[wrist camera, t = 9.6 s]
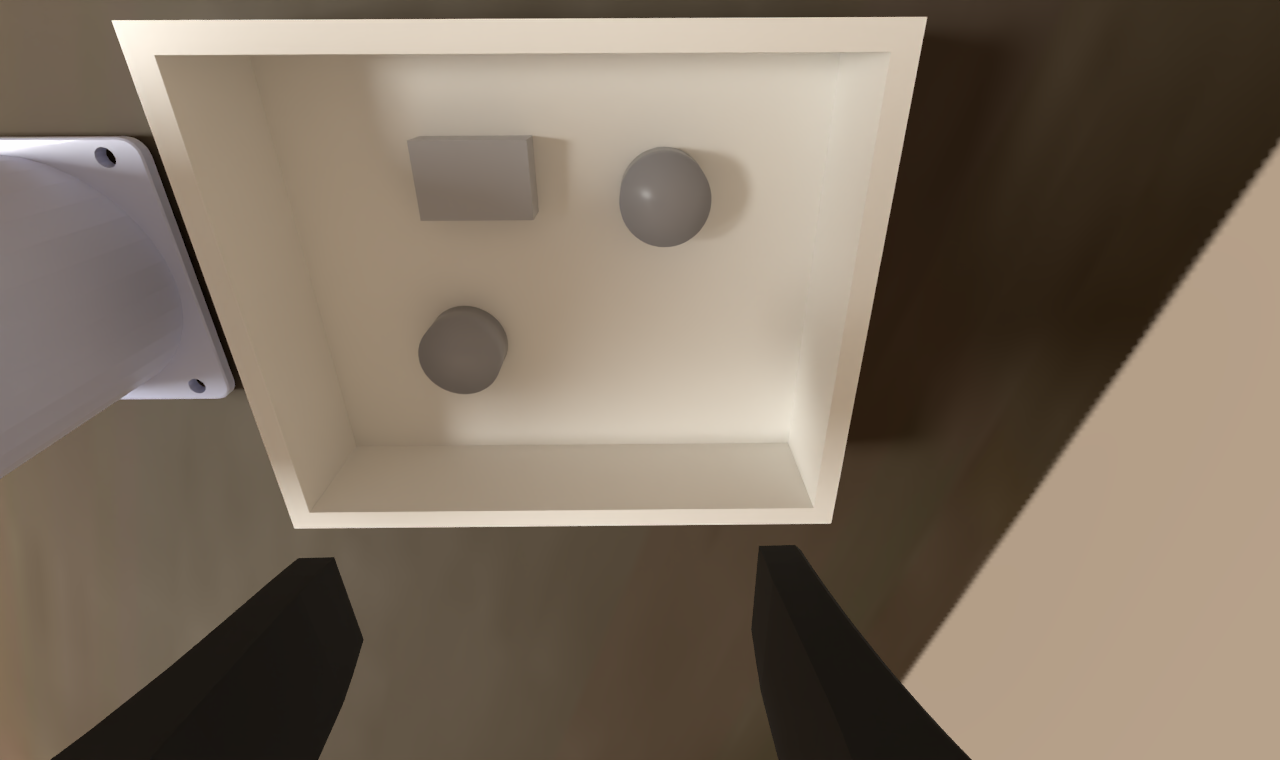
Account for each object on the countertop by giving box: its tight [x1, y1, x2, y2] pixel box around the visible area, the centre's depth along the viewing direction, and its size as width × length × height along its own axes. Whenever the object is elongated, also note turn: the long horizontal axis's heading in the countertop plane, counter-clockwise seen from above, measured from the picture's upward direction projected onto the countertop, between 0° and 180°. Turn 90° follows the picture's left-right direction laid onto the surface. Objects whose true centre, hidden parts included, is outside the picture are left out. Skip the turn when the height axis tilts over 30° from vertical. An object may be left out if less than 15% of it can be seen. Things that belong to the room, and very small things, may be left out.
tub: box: [112, 17, 927, 528], centre depth 17 cm, size 16×13×4 cm
